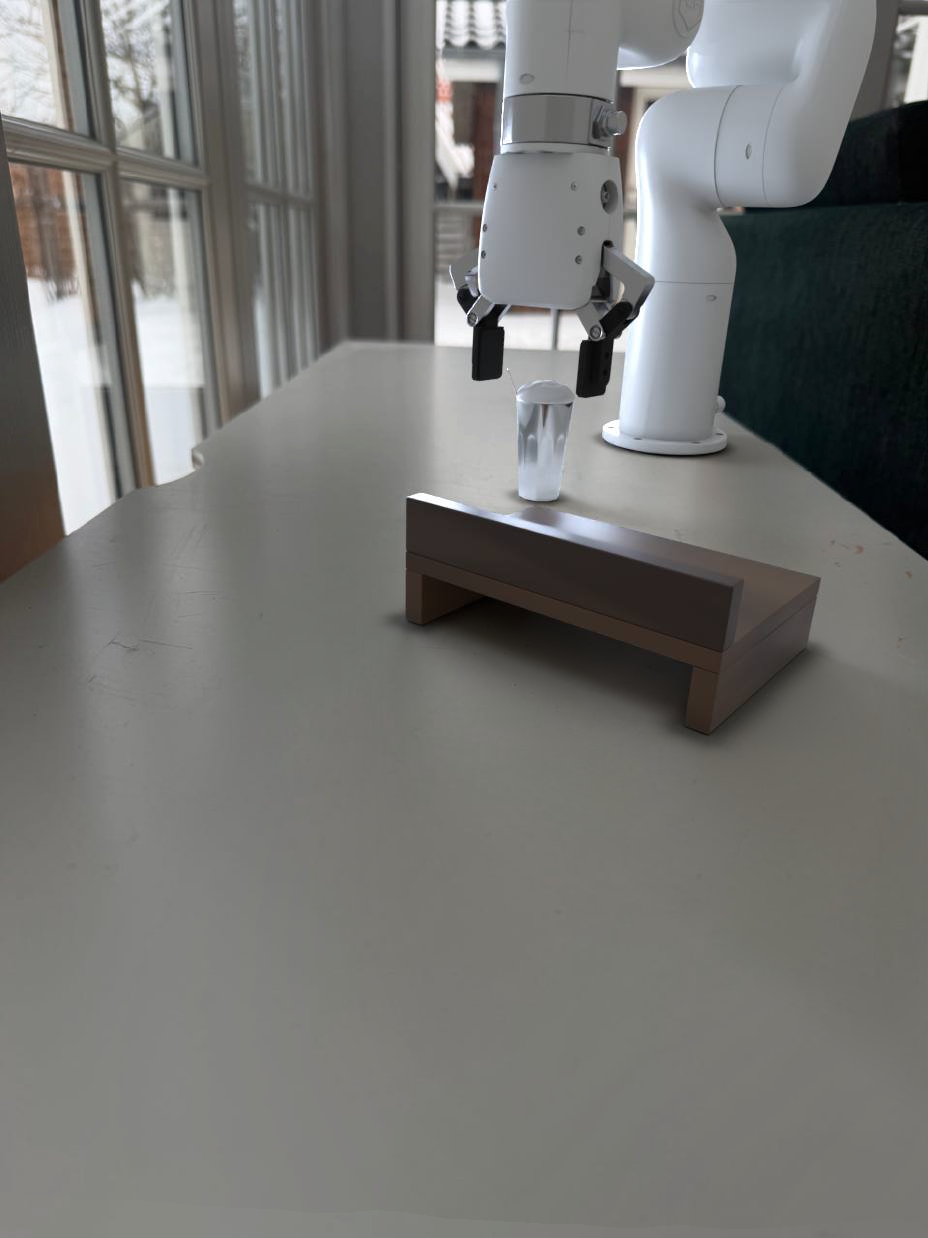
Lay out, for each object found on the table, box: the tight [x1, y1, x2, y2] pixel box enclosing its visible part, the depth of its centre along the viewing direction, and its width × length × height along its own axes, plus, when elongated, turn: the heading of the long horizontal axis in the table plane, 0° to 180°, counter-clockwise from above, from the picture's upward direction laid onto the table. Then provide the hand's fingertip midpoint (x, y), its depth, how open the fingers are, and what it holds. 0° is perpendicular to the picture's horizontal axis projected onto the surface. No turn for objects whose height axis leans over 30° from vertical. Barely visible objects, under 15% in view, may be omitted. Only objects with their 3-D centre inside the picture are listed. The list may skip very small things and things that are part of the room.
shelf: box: [404, 492, 822, 735], centre depth 46 cm, size 12×18×7 cm, turn 51°
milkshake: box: [506, 368, 576, 502], centre depth 70 cm, size 5×5×10 cm
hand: (536, 387), depth 68 cm, fingers open, 9 cm apart
